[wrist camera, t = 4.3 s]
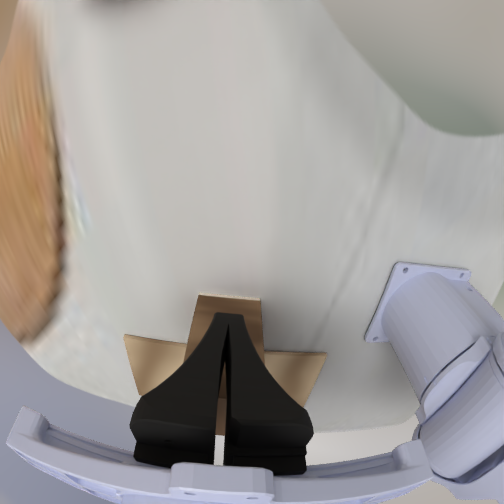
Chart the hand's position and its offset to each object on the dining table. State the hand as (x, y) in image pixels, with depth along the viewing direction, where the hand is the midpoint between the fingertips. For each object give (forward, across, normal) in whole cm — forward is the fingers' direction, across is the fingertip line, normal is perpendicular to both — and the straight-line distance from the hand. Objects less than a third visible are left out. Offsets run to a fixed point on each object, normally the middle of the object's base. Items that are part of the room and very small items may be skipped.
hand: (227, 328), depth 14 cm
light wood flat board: (+6, 0, +13) cm, 14 cm away
